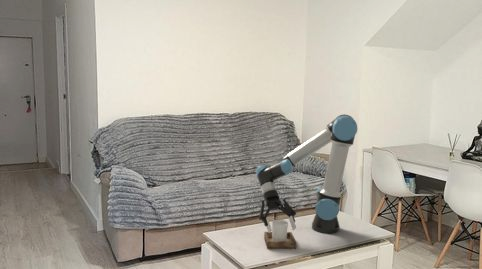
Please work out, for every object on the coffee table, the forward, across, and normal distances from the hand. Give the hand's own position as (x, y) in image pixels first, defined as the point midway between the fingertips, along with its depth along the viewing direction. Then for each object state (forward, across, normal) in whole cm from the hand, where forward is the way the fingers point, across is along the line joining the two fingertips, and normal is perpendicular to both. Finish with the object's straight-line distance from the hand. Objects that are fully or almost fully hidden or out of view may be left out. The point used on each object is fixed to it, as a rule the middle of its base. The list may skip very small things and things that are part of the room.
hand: (282, 230), depth 214 cm
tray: (+4, 0, -7) cm, 8 cm away
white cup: (+3, 0, -7) cm, 7 cm away
